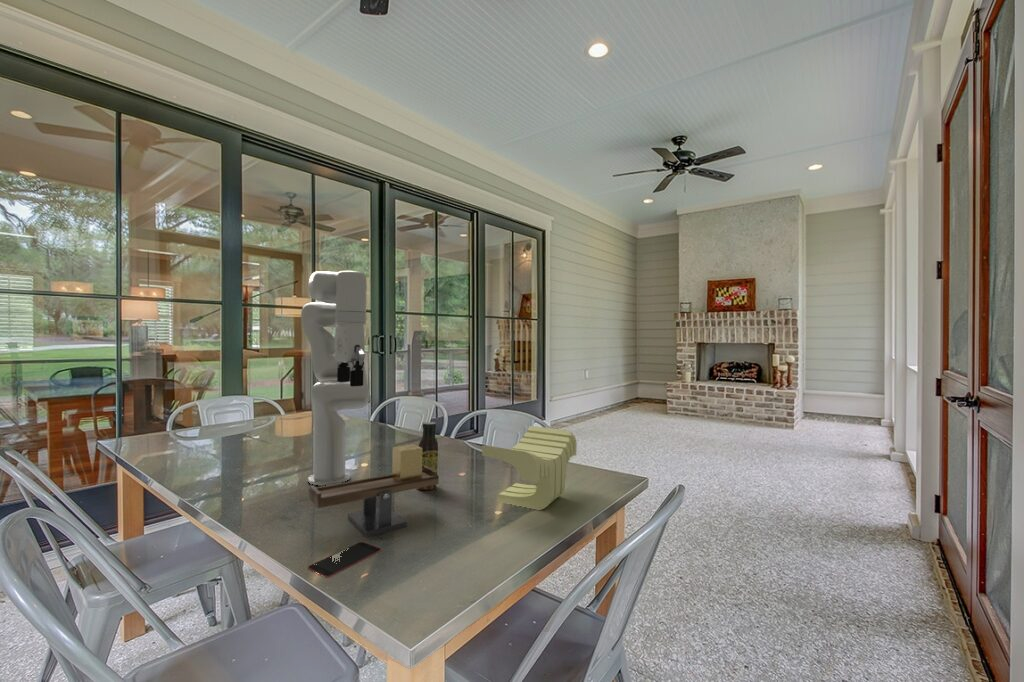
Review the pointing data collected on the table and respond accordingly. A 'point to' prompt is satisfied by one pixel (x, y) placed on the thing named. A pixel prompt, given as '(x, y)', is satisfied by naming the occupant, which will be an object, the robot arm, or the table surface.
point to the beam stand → (377, 515)
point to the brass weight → (407, 463)
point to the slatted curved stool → (536, 466)
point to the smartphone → (344, 559)
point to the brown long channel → (367, 488)
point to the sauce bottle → (429, 449)
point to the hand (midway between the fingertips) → (349, 383)
